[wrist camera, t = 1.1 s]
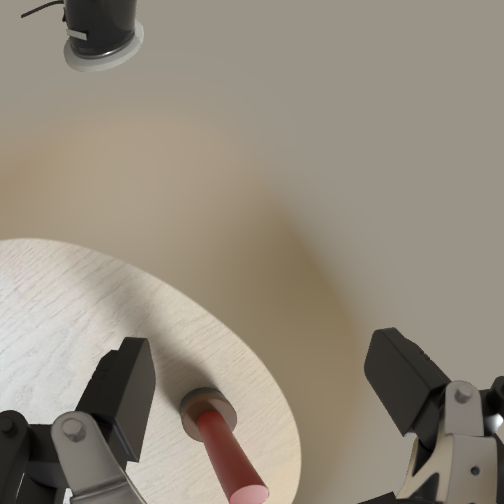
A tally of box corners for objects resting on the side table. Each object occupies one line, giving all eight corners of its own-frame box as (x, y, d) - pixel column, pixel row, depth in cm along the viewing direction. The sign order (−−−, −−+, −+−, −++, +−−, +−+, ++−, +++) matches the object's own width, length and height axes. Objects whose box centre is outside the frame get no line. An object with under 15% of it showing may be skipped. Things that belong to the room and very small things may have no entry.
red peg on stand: (168, 403, 24) (190, 498, 11) (211, 377, 26) (264, 456, 12) (198, 436, 24) (237, 528, 11) (238, 411, 26) (300, 491, 13)
